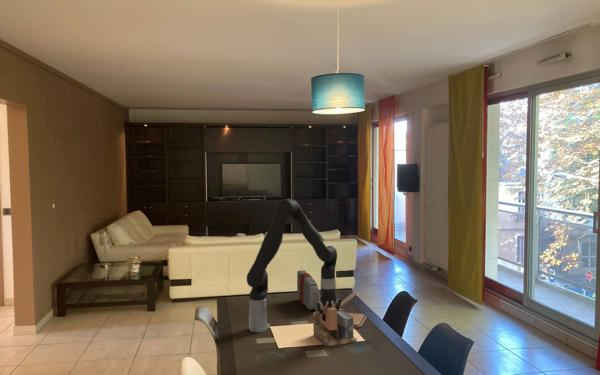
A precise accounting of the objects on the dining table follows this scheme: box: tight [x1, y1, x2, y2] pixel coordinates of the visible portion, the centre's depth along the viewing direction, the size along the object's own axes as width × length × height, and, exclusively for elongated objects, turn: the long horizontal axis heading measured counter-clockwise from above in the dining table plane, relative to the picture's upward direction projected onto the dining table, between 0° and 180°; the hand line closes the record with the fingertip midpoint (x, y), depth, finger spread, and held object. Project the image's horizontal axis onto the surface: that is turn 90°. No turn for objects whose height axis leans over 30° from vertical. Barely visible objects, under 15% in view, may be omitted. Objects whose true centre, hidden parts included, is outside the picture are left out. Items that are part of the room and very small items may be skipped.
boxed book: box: [320, 303, 337, 330], centre depth 225 cm, size 4×12×10 cm, turn 19°
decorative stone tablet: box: [296, 269, 321, 310], centre depth 283 cm, size 19×6×30 cm
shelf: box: [312, 308, 358, 347], centre depth 229 cm, size 17×16×12 cm
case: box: [339, 289, 368, 329], centre depth 255 cm, size 20×21×16 cm
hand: (328, 320), depth 225 cm, fingers closed on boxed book, 4 cm apart
